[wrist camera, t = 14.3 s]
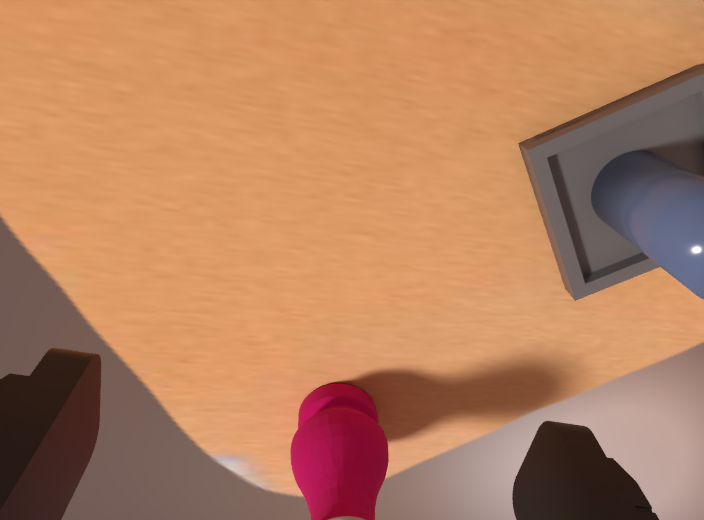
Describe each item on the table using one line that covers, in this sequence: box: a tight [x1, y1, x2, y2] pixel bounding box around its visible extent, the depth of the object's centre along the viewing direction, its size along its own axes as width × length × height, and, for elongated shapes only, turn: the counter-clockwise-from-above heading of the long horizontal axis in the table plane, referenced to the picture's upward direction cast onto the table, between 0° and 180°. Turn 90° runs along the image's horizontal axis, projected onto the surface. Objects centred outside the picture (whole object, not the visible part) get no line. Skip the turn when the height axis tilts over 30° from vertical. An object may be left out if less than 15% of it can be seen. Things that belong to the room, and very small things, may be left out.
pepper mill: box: [291, 383, 388, 520], centre depth 38 cm, size 7×7×20 cm
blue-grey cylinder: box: [591, 150, 704, 299], centre depth 34 cm, size 5×5×11 cm
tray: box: [519, 65, 704, 300], centre depth 39 cm, size 12×12×2 cm
